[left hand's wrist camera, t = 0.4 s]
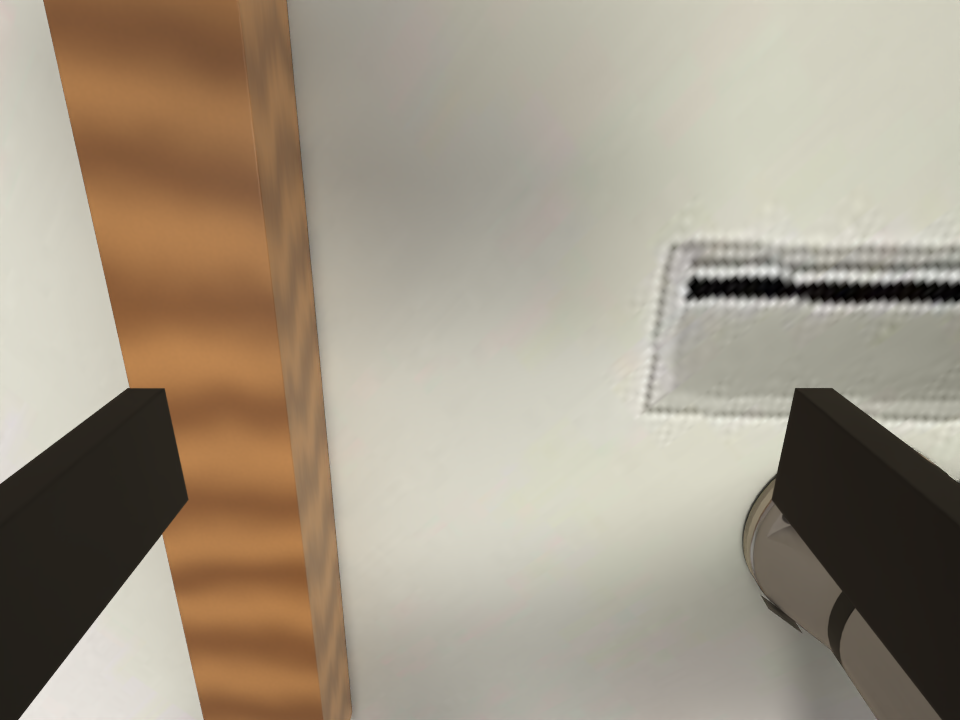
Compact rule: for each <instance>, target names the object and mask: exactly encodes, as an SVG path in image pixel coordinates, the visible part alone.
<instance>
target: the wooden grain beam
mask: <svg viewBox="0 0 960 720" xmlns="http://www.w3.org/2000/svg"><path fill="white" fill-rule="evenodd" d="M43 1H44V6H45V10H46V15H47V19H48V24H49V28H50V33H51V37H52V42H53V46H54V51H55V55H56V59H57V64H58V68H59V73H60V77H61V82H62V86H63V91H64V95H65V100H66V104H67V109H68V113H69V118H70V122H71V127H72V131H73V136H74V140H75V145H76V149H77V154H78V158H79V163H80V167H81V172H82V176H83V180H84V185H85V189H86V194H87V198H88V203H89V207H90V212H91V216H92V221H93V225H94V230H95V234H96V239H97V243H98V248H99V252H100V257H101V261H102V266H103V270H104V275H105V279H106V284H107V288H108V293H109V297H110V302H111V306H112V310H113V315H114V319H115V324H116V328H117V333H118V337H119V342H120V346H121V351H122V355H123V360H124V364H125V369H126V373H127V378H128V382H129V387H130V388H165V392H166V397H167V401H168V406H169V411H170V415H171V420H172V425H173V429H174V434H175V439H176V443H177V448H178V453H179V457H180V462H181V467H182V471H183V476H184V480H185V485H186V490H187V494H188V499H189V500H188V501H187V503H186V504H185V505H184V506H183V508H182V509H181V510H180V512H179V513H178V514H177V515H176V517H175V518H174V519H173V521H172V522H171V523H170V524H169V526H168V527H167V528H166V530H165V531H164V532H163V534H162V535H163V539H164V544H165V548H166V552H167V557H168V561H169V566H170V570H171V575H172V579H173V584H174V588H175V593H176V597H177V602H178V606H179V611H180V615H181V620H182V624H183V629H184V633H185V638H186V642H187V647H188V651H189V656H190V660H191V665H192V669H193V673H194V678H195V682H196V687H197V691H198V696H199V700H200V705H201V709H202V714H203V718H204V720H350V719H351V714H352V706H351V695H350V684H349V674H348V663H347V652H346V641H345V630H344V619H343V608H342V598H341V587H340V576H339V565H338V554H337V543H336V533H335V522H334V511H333V500H332V489H331V478H330V467H329V457H328V446H327V435H326V424H325V413H324V402H323V391H322V381H321V370H320V359H319V348H318V337H317V326H316V315H315V305H314V294H313V283H312V272H311V261H310V250H309V239H308V229H307V218H306V207H305V196H304V185H303V174H302V163H301V153H300V142H299V131H298V120H297V109H296V98H295V87H294V77H293V66H292V55H291V44H290V33H289V22H288V11H287V1H286V0H43Z"/></svg>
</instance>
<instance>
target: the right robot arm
mask: <svg viewBox="0 0 960 720" xmlns="http://www.w3.org/2000/svg"><path fill="white" fill-rule="evenodd" d="M919 454H920V453H919ZM920 455H921V454H920ZM922 456H923V455H922ZM923 457H924V458H926V457H925V456H923ZM926 459H927V458H926ZM927 460H928V461H930V460H929V459H927ZM930 462H931V461H930ZM931 463H932V464H934V463H933V462H931ZM934 465H935V464H934ZM935 466H936V467H938V466H937V465H935ZM938 468H939V467H938ZM939 469H940V470H942V469H941V468H939ZM942 471H943V470H942ZM943 472H944V471H943ZM944 473H946V472H944ZM946 474H947V473H946ZM947 475H948V474H947ZM948 476H949V475H948ZM775 480H776V478H775V479H774V480H773V481H772V482H771V483H770V484H769V485H768V486H767V487H766V488H765V489H764V491H763V492H762V493H761V495H760V496H759V497H758V499H757V501H756V502H755V504H754V505H753V507H752V509H751V511H750V513H749V516H748V519H747V521H746V525H745V529H744V536H743V549H744V556H745V560H746V563H747V565H748V568H749V570H750V572H751V573H752V575H753V577H754V579H755V580H756V582H757V584H758V585H759V587H760V588H761V590H762V591H763V593H764V594H765V595H766V597H767V598H768V599H769V600H770V601H771V602H772V603H774V604H775V605H776V606H777V607H776V606H775V605H774V604H772V603H771V602H769V601H768V600H767V599H765V598H764V597H763V596H762V598H763V600H764V602H765V603H766V605H767V607H768V608H769V609H770V610H771V611H773V612H774V613H775V614H777V615H778V616H779V617H781V618H782V619H783V620H785V621H786V622H788V623H789V624H790V625H792V626H793V627H794V628H796V629H797V630H798V631H800V632H801V630H800V629H799V627H798V625H797V624H796V622H797V623H798V624H799V625H800V626H801V627H803V628H804V629H805V630H807V631H808V632H809V633H810V634H812V635H813V636H814V637H815V638H817V639H818V640H819V641H820V642H822V643H823V644H824V645H825V646H827V647H828V648H829V649H830V650H831V651H832V652H833V653H834V655H835V656H836V658H837V659H838V661H839V662H840V664H841V665H842V667H843V668H844V670H845V671H846V673H847V675H848V676H849V678H850V679H851V681H852V682H853V684H854V685H855V687H856V688H857V690H858V691H859V693H860V694H861V696H862V697H863V699H864V700H865V702H866V703H867V705H868V706H869V708H870V709H871V711H872V712H873V714H874V715H875V717H876V718H877V720H942V719H941V718H940V717H939V716H938V714H937V713H936V712H935V710H934V709H933V708H932V707H931V705H930V704H929V703H928V701H927V700H926V699H925V697H924V696H923V695H922V694H921V692H920V691H919V690H918V688H917V687H916V686H915V685H914V683H913V682H912V681H911V679H910V678H909V677H908V676H907V674H906V673H905V672H904V670H903V669H902V668H901V666H900V665H899V664H898V663H897V661H896V660H895V659H894V657H893V656H892V655H891V654H890V652H889V651H888V650H887V648H886V647H885V646H884V645H883V643H882V642H881V641H880V639H879V638H878V637H877V636H876V634H875V633H874V632H873V630H872V629H871V628H870V626H869V625H868V624H867V623H866V621H865V620H864V619H863V617H862V616H861V615H860V614H859V612H858V611H857V610H856V608H855V607H854V606H853V605H852V603H851V602H850V601H849V599H848V598H847V597H846V595H845V594H844V593H843V592H842V590H841V589H840V588H839V586H838V585H837V584H836V583H835V581H834V580H833V579H832V577H831V576H830V575H829V574H828V572H827V571H826V570H825V568H824V567H823V566H822V565H821V563H820V562H819V561H818V559H817V558H816V557H815V555H814V554H813V553H812V552H811V550H810V549H809V548H808V546H807V545H806V544H805V543H804V541H803V540H802V539H801V537H800V536H799V535H798V534H797V532H796V531H795V530H794V528H793V527H792V526H791V525H790V523H789V522H788V521H787V519H786V518H785V517H784V515H783V514H782V513H781V512H780V510H779V509H778V508H777V506H776V505H775V504H774V503H773V501H772V500H771V499H772V494H773V490H774V485H775ZM801 633H802V632H801ZM802 634H803V633H802Z"/></svg>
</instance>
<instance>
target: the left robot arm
mask: <svg viewBox="0 0 960 720" xmlns="http://www.w3.org/2000/svg"><path fill="white" fill-rule="evenodd" d="M188 500H189V499H188V494H187V490H186V485H185V480H184V476H183V471H182V467H181V462H180V457H179V453H178V448H177V443H176V439H175V434H174V429H173V425H172V420H171V415H170V411H169V406H168V401H167V397H166V392H165V388H127V389H126V390H125V391H123V392H122V393H121V394H119V395H118V396H117V397H115V398H114V399H113V400H111V401H110V402H109V403H107V404H106V405H105V406H103V407H102V408H101V409H99V410H98V411H97V412H96V413H94V414H93V415H92V416H90V417H89V418H88V419H86V420H85V421H84V422H82V423H81V424H80V425H78V426H77V427H76V428H74V429H73V430H72V431H70V432H69V433H68V434H66V435H65V436H64V437H62V438H61V439H60V440H58V441H57V442H56V443H54V444H53V445H52V446H50V447H49V448H48V449H46V450H45V451H44V452H42V453H41V454H40V455H38V456H37V457H36V458H34V459H33V460H32V461H30V462H29V463H28V464H26V465H25V466H24V467H22V468H21V469H20V470H18V471H17V472H16V473H14V474H13V475H12V476H10V477H9V478H8V479H6V480H5V481H4V482H2V483H1V484H0V720H18V719H19V718H20V717H21V716H22V714H23V713H24V712H25V710H26V709H27V708H28V707H29V705H30V704H31V703H32V701H33V700H34V699H35V697H36V696H37V695H38V694H39V692H40V691H41V690H42V688H43V687H44V686H45V685H46V683H47V682H48V681H49V679H50V678H51V677H52V676H53V674H54V673H55V672H56V670H57V669H58V668H59V666H60V665H61V664H62V663H63V661H64V660H65V659H66V657H67V656H68V655H69V654H70V652H71V651H72V650H73V648H74V647H75V646H76V645H77V643H78V642H79V641H80V639H81V638H82V637H83V636H84V634H85V633H86V632H87V630H88V629H89V628H90V626H91V625H92V624H93V623H94V621H95V620H96V619H97V617H98V616H99V615H100V614H101V612H102V611H103V610H104V608H105V607H106V606H107V605H108V603H109V602H110V601H111V599H112V598H113V597H114V595H115V594H116V593H117V592H118V590H119V589H120V588H121V586H122V585H123V584H124V583H125V581H126V580H127V579H128V577H129V576H130V575H131V574H132V572H133V571H134V570H135V568H136V567H137V566H138V565H139V563H140V562H141V561H142V559H143V558H144V557H145V555H146V554H147V553H148V552H149V550H150V549H151V548H152V546H153V545H154V544H155V543H156V541H157V540H158V539H159V537H160V536H161V535H162V534H163V532H164V531H165V530H166V528H167V527H168V526H169V524H170V523H171V522H172V521H173V519H174V518H175V517H176V515H177V514H178V513H179V512H180V510H181V509H182V508H183V506H184V505H185V504H186V503H187V501H188ZM771 500H772V501H773V503H774V504H775V505H776V506H777V508H778V509H779V510H780V512H781V513H782V514H783V515H784V517H785V518H786V519H787V521H788V522H789V523H790V525H791V526H792V527H793V528H794V530H795V531H796V532H797V534H798V535H799V536H800V537H801V539H802V540H803V541H804V543H805V544H806V545H807V546H808V548H809V549H810V550H811V552H812V553H813V554H814V555H815V557H816V558H817V559H818V561H819V562H820V563H821V565H822V566H823V567H824V568H825V570H826V571H827V572H828V574H829V575H830V576H831V577H832V579H833V580H834V581H835V583H836V584H837V585H838V586H839V588H840V589H841V590H842V592H843V593H844V594H845V595H846V597H847V598H848V599H849V601H850V602H851V603H852V605H853V606H854V607H855V608H856V610H857V611H858V612H859V614H860V615H861V616H862V617H863V619H864V620H865V621H866V623H867V624H868V625H869V626H870V628H871V629H872V630H873V632H874V633H875V634H876V636H877V637H878V638H879V639H880V641H881V642H882V643H883V645H884V646H885V647H886V648H887V650H888V651H889V652H890V654H891V655H892V656H893V657H894V659H895V660H896V661H897V663H898V664H899V665H900V666H901V668H902V669H903V670H904V672H905V673H906V674H907V676H908V677H909V678H910V679H911V681H912V682H913V683H914V685H915V686H916V687H917V688H918V690H919V691H920V692H921V694H922V695H923V696H924V697H925V699H926V700H927V701H928V703H929V704H930V705H931V707H932V708H933V709H934V710H935V712H936V713H937V714H938V716H939V717H940V718H941V719H942V720H960V484H959V483H958V482H956V481H955V480H954V479H952V478H951V477H950V476H948V475H947V474H946V473H944V472H943V471H942V470H940V469H939V468H938V467H936V466H935V465H934V464H932V463H931V462H930V461H928V460H927V459H926V458H924V457H923V456H922V455H920V454H919V453H918V452H916V451H915V450H914V449H912V448H911V447H910V446H908V445H907V444H906V443H904V442H903V441H902V440H900V439H899V438H898V437H896V436H895V435H894V434H892V433H891V432H890V431H888V430H887V429H886V428H884V427H883V426H882V425H880V424H879V423H878V422H876V421H875V420H874V419H872V418H871V417H870V416H868V415H867V414H866V413H864V412H863V411H862V410H860V409H859V408H858V407H857V406H855V405H854V404H853V403H851V402H850V401H849V400H847V399H846V398H845V397H843V396H842V395H841V394H839V393H838V392H837V391H835V390H834V389H833V388H795V392H794V397H793V401H792V406H791V411H790V415H789V420H788V425H787V429H786V434H785V439H784V443H783V448H782V453H781V457H780V462H779V467H778V471H777V476H776V480H775V485H774V490H773V494H772V499H771Z"/></svg>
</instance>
